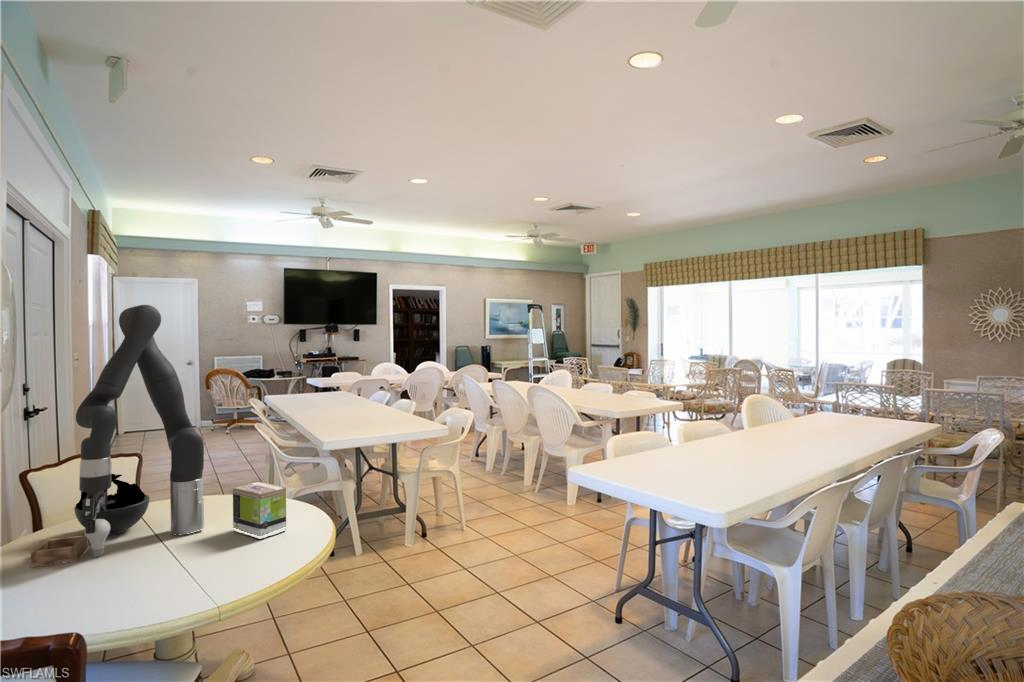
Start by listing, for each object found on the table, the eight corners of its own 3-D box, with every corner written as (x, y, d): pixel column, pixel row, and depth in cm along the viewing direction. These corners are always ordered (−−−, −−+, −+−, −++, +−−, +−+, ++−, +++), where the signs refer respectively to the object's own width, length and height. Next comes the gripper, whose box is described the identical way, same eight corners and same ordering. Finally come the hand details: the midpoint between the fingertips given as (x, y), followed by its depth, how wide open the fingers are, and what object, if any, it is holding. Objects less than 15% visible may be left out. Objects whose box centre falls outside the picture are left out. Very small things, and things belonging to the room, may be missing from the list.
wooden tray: (89, 547, 172) (88, 534, 172) (77, 561, 162) (77, 547, 162) (44, 553, 168) (44, 539, 168) (29, 567, 158) (29, 553, 158)
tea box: (287, 531, 186) (287, 486, 186) (259, 541, 177) (259, 494, 177) (259, 523, 194) (259, 480, 194) (231, 532, 186) (231, 487, 185)
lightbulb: (116, 554, 167) (115, 517, 167) (94, 562, 162) (94, 523, 161) (101, 551, 169) (100, 514, 169) (79, 559, 164) (79, 521, 163)
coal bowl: (89, 525, 192) (88, 470, 191) (157, 519, 198) (156, 465, 198) (63, 547, 173) (62, 485, 172) (139, 539, 179) (138, 480, 179)
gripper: (103, 477, 160) (103, 535, 160) (117, 466, 173) (117, 519, 173) (71, 479, 157) (70, 538, 157) (88, 468, 170) (87, 522, 171)
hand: (95, 528), depth 165 cm, fingers open, 8 cm apart
